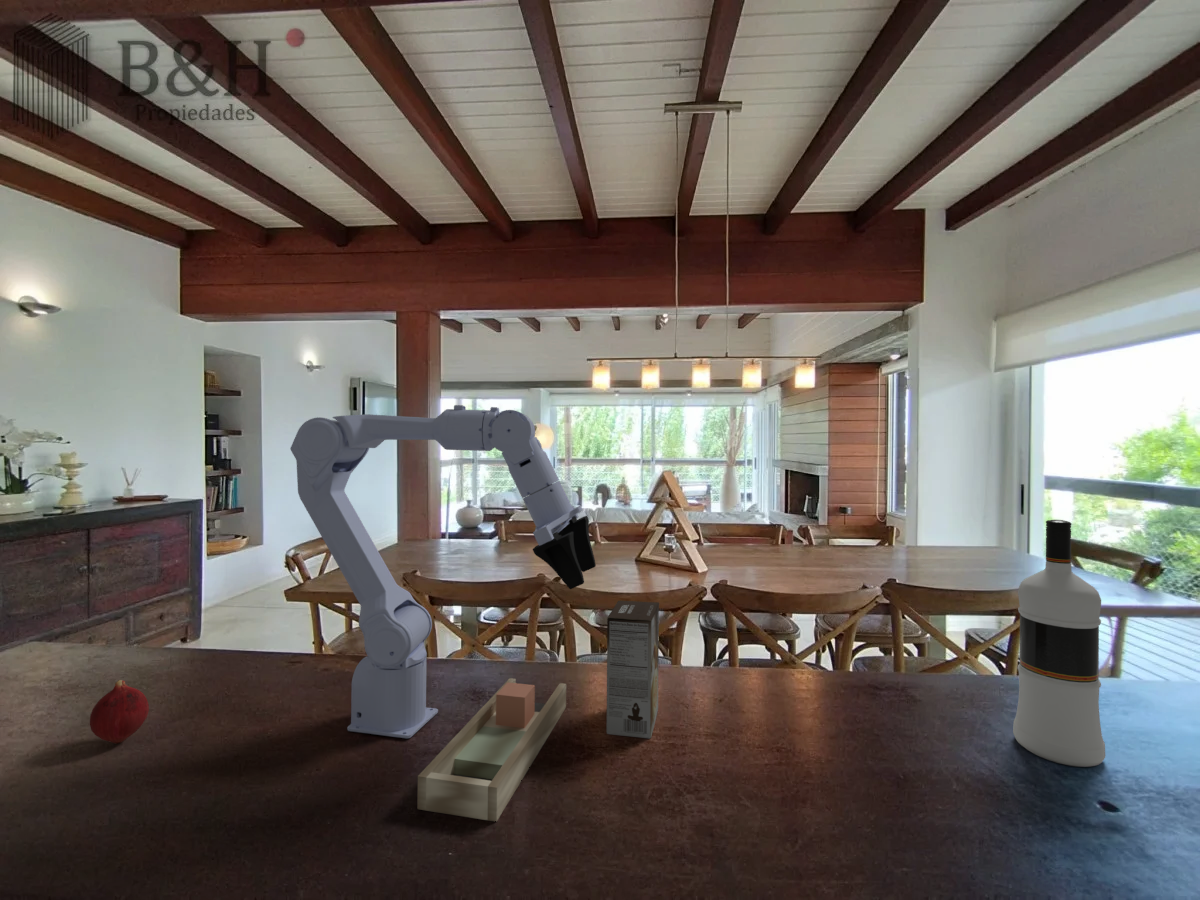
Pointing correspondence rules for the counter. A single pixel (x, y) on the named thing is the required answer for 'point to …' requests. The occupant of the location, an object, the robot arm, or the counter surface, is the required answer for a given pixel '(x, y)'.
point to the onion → (119, 713)
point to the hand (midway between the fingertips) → (583, 577)
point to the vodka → (1059, 660)
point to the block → (515, 705)
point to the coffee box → (632, 668)
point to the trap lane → (486, 761)
